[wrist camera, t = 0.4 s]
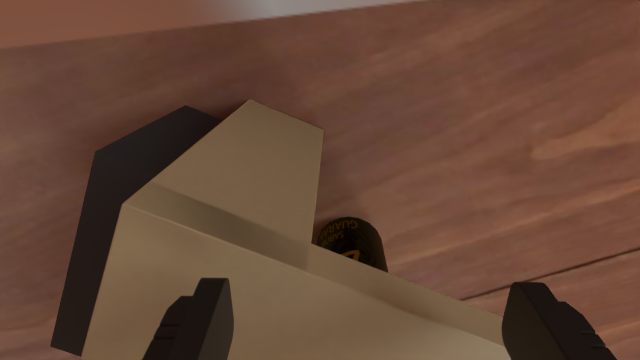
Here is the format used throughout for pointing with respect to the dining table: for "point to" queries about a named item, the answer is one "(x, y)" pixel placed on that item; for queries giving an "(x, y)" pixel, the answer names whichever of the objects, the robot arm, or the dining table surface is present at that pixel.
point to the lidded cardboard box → (241, 252)
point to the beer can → (354, 241)
